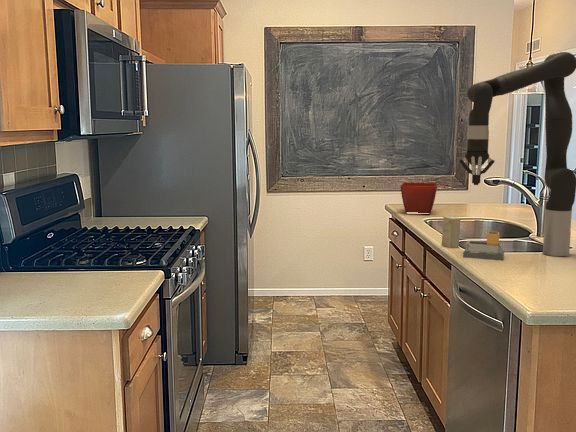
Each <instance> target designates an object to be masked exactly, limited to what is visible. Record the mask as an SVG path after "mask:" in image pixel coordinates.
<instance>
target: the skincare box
mask: <svg viewBox="0 0 576 432" xmlns="http://www.w3.org/2000/svg"><path fill="white" fill-rule="evenodd" d="M442 218H443V219H442V221H443V222H442V234H441V246H443V247H446V248H449V249H456V248H460V247H459V246H460V232H461V217H457V216H452V215H451V216H450V215H449V216H448V215H447V216H443V217H442Z"/></svg>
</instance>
